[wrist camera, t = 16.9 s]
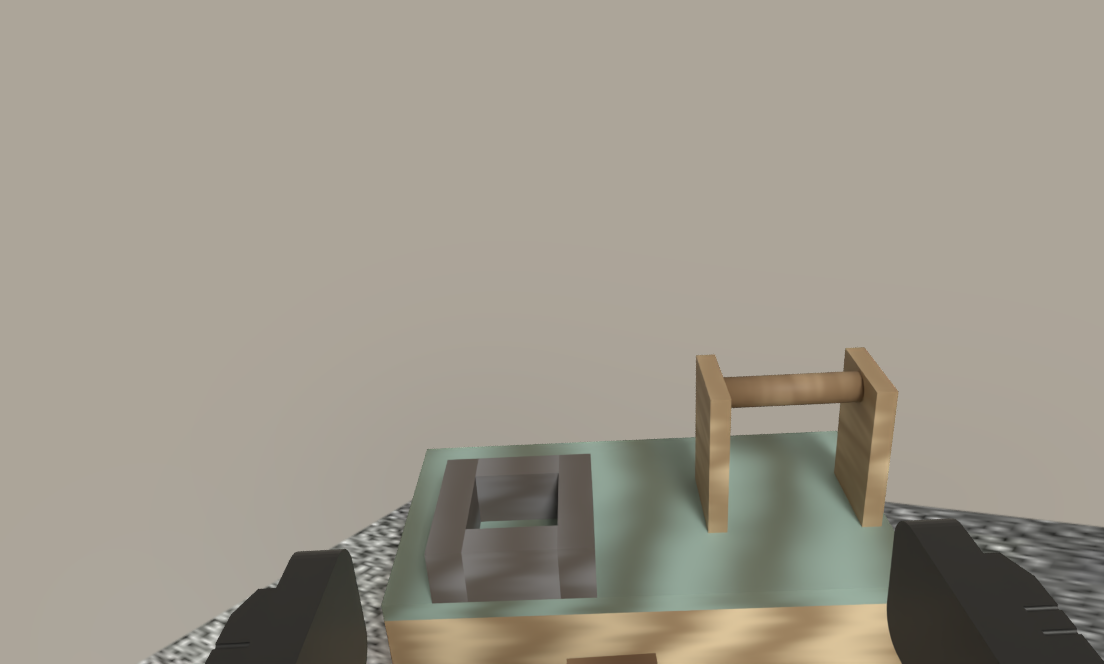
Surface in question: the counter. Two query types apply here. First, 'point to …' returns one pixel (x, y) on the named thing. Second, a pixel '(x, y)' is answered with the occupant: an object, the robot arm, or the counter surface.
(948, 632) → the robot arm
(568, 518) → the wooden socket fixture
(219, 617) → the counter surface
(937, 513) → the counter surface
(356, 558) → the counter surface
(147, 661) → the counter surface
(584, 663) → the walnut key
